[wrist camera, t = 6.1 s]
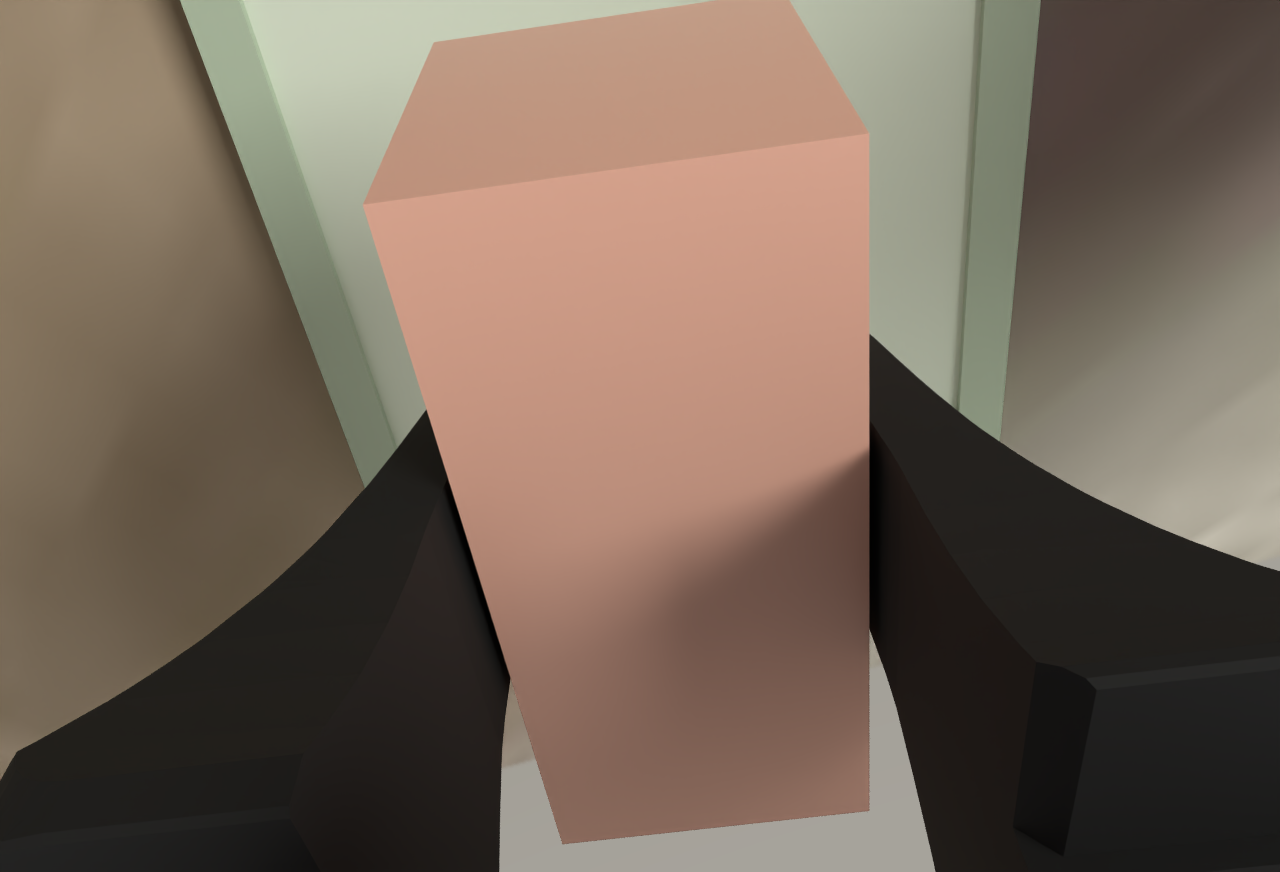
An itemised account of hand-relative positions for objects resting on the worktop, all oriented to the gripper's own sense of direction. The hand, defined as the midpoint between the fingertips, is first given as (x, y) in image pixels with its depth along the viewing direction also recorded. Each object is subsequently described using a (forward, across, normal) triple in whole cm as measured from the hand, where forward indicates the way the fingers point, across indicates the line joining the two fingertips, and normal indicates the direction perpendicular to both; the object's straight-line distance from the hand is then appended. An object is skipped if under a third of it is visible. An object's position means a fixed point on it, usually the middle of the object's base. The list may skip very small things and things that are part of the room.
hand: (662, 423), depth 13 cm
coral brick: (+2, 0, 0) cm, 2 cm away
